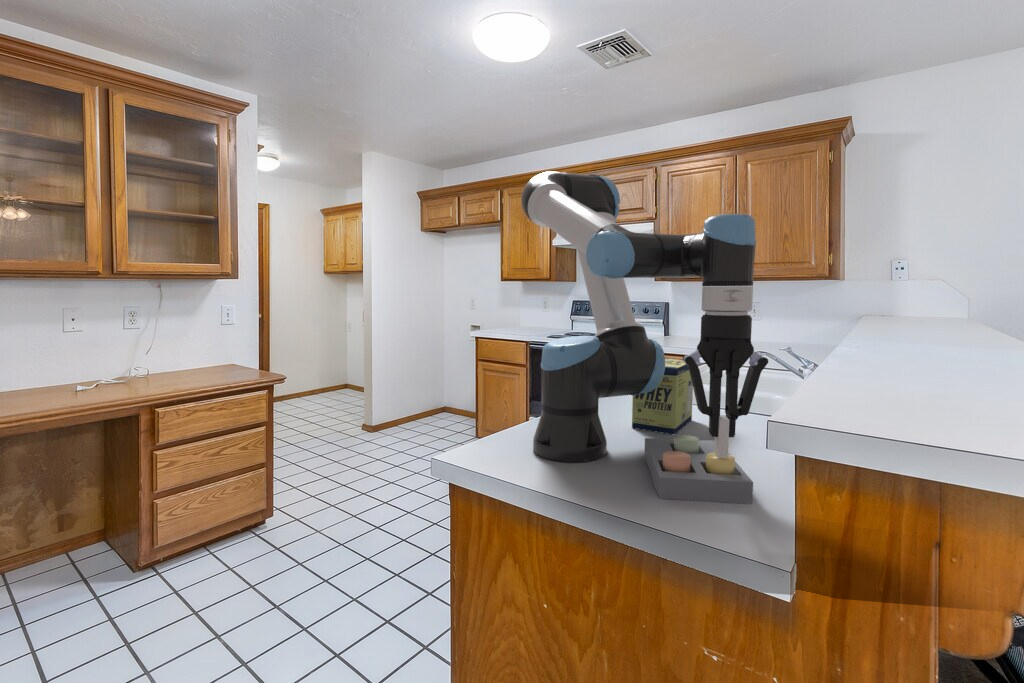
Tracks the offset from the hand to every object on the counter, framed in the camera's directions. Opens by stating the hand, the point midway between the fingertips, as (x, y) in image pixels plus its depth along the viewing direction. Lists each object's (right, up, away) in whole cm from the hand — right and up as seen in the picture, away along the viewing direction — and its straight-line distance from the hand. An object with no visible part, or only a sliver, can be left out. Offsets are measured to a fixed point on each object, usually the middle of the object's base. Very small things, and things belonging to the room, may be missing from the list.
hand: (720, 455), depth 82 cm
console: (-3, -5, +6) cm, 8 cm away
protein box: (+3, -2, +40) cm, 40 cm away
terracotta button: (-7, -3, +2) cm, 8 cm away
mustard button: (0, -3, 0) cm, 4 cm away
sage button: (-2, -2, +11) cm, 11 cm away
